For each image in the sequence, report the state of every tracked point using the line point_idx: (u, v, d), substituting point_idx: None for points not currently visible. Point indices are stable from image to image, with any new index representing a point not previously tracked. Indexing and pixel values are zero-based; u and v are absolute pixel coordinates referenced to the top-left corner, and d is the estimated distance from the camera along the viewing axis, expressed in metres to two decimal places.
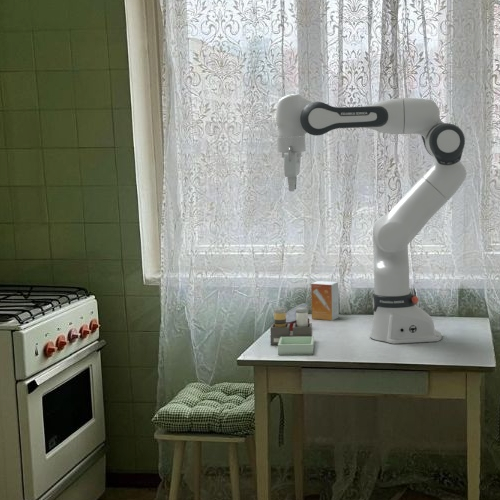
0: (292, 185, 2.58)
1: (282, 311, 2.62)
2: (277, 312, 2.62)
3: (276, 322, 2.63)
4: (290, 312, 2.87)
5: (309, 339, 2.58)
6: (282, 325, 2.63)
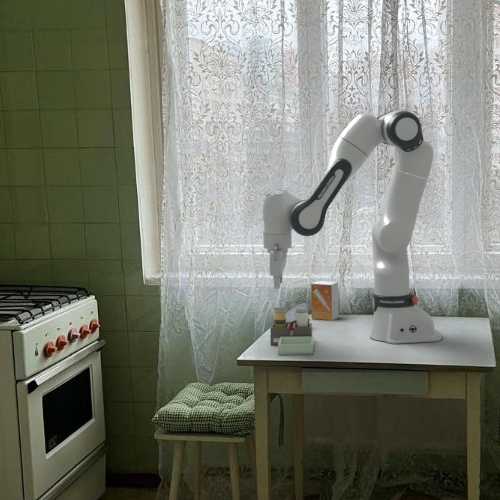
0: (277, 282, 2.57)
1: (282, 311, 2.62)
2: (277, 312, 2.62)
3: (276, 322, 2.63)
4: (290, 312, 2.87)
5: (309, 339, 2.58)
6: (282, 325, 2.63)
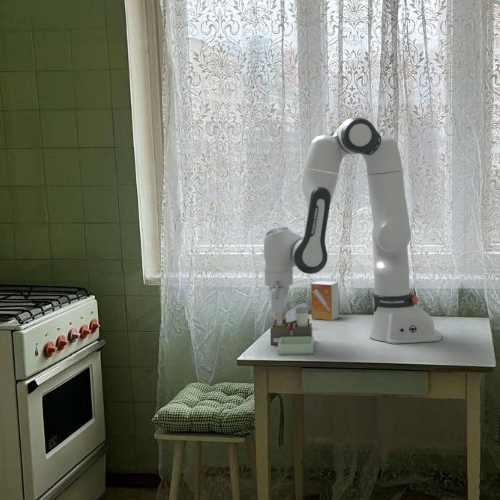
0: (280, 318, 2.60)
1: None
2: None
3: (276, 322, 2.63)
4: (290, 312, 2.87)
5: (309, 339, 2.58)
6: (282, 325, 2.63)
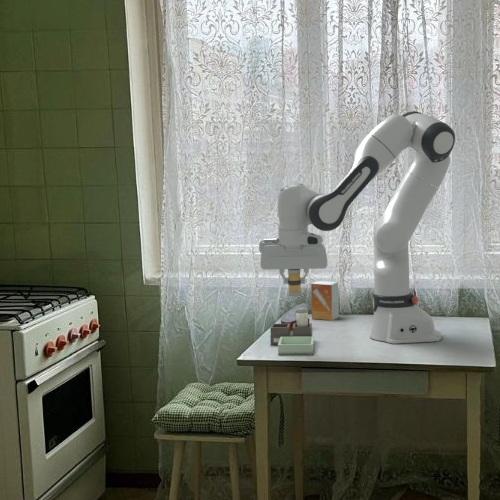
0: None
1: (288, 271, 2.51)
2: None
3: None
4: (290, 312, 2.87)
5: (309, 339, 2.58)
6: (289, 286, 2.51)
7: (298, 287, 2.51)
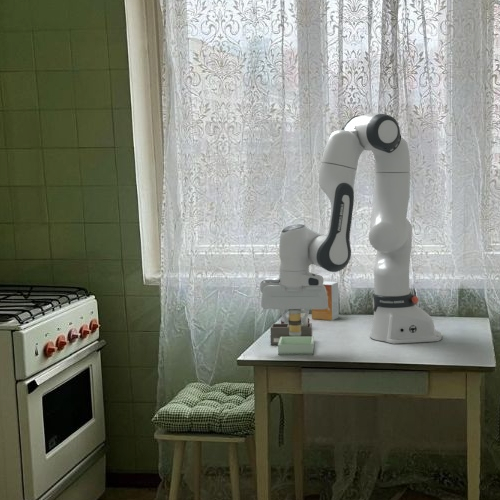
0: None
1: (289, 311, 2.52)
2: None
3: None
4: None
5: (309, 339, 2.58)
6: (289, 326, 2.53)
7: (298, 327, 2.52)
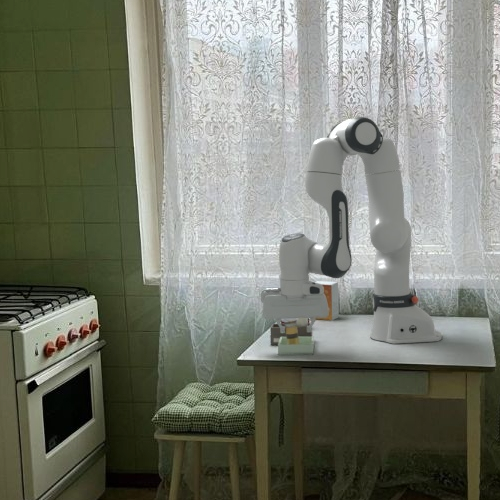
0: None
1: (285, 325, 2.53)
2: None
3: None
4: None
5: (309, 339, 2.58)
6: (287, 339, 2.53)
7: (296, 340, 2.53)
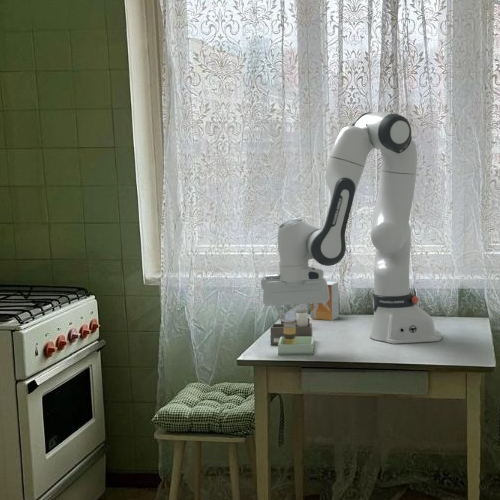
0: None
1: (284, 325, 2.53)
2: None
3: None
4: (290, 312, 2.87)
5: (309, 339, 2.58)
6: (284, 339, 2.53)
7: (293, 341, 2.53)
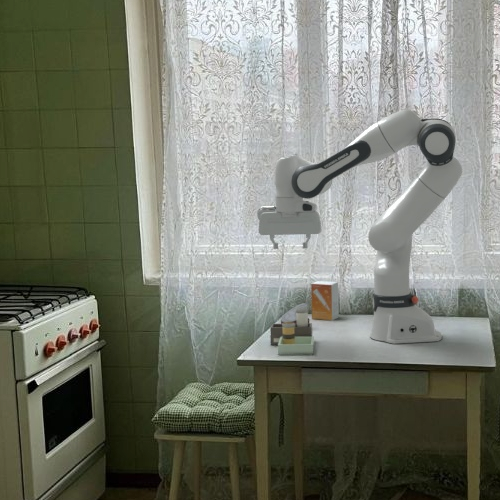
0: None
1: (283, 325, 2.53)
2: None
3: None
4: (290, 312, 2.87)
5: (309, 339, 2.58)
6: (283, 340, 2.53)
7: (293, 340, 2.53)
